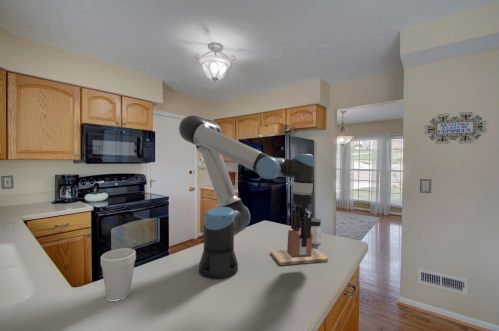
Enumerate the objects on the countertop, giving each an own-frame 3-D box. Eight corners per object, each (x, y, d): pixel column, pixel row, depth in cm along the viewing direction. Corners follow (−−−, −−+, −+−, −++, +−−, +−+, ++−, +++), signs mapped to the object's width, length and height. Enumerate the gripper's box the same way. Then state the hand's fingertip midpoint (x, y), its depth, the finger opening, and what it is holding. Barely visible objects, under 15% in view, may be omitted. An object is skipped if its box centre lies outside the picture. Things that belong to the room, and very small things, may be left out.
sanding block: (292, 257, 87) (293, 234, 87) (287, 252, 92) (288, 230, 92) (311, 256, 89) (312, 233, 89) (305, 251, 94) (306, 229, 94)
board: (279, 265, 93) (279, 262, 93) (270, 253, 105) (270, 251, 105) (327, 261, 98) (328, 258, 98) (314, 250, 110) (314, 247, 110)
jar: (314, 246, 116) (315, 222, 116) (301, 241, 122) (301, 219, 121) (323, 241, 122) (324, 219, 122) (310, 237, 128) (310, 216, 128)
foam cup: (127, 283, 77) (128, 246, 77) (140, 294, 72) (141, 253, 71) (95, 296, 70) (95, 254, 70) (106, 309, 64) (107, 263, 64)
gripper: (323, 197, 82) (319, 260, 83) (301, 189, 100) (298, 242, 100) (304, 197, 80) (300, 262, 81) (284, 189, 98) (282, 243, 99)
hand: (299, 251), depth 91 cm, fingers closed on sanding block, 5 cm apart
